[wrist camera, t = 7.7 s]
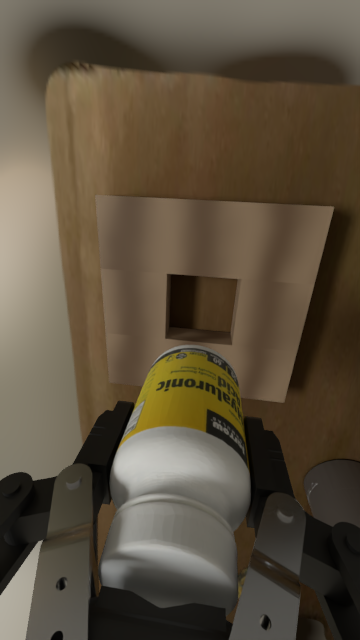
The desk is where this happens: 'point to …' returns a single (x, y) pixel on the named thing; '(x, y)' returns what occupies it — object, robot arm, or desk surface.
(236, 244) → the socket board
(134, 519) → the supplement bottle
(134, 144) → the desk surface
